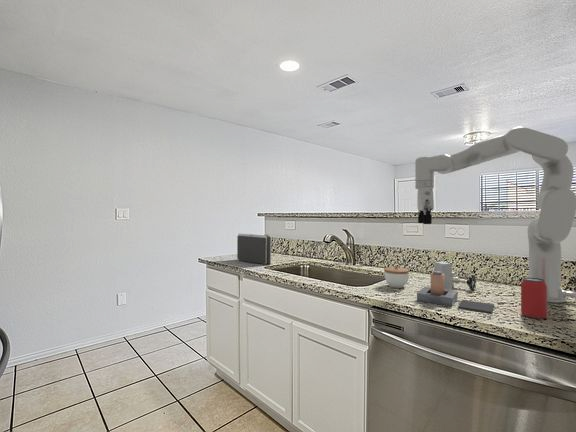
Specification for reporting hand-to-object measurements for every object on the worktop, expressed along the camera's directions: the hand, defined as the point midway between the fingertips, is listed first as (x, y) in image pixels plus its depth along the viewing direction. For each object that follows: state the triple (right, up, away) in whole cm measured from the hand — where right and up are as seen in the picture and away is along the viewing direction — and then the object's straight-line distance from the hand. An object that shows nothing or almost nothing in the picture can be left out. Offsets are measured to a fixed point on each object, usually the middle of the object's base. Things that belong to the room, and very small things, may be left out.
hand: (424, 223), depth 138 cm
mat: (+6, -29, -28) cm, 41 cm away
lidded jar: (-11, -29, +3) cm, 31 cm away
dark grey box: (-79, -29, +80) cm, 116 cm away
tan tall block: (-3, -29, -19) cm, 35 cm away
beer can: (+19, -29, -38) cm, 51 cm away
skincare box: (+5, -29, -5) cm, 30 cm away
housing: (-3, -29, -19) cm, 35 cm away
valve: (+15, -29, -1) cm, 32 cm away
